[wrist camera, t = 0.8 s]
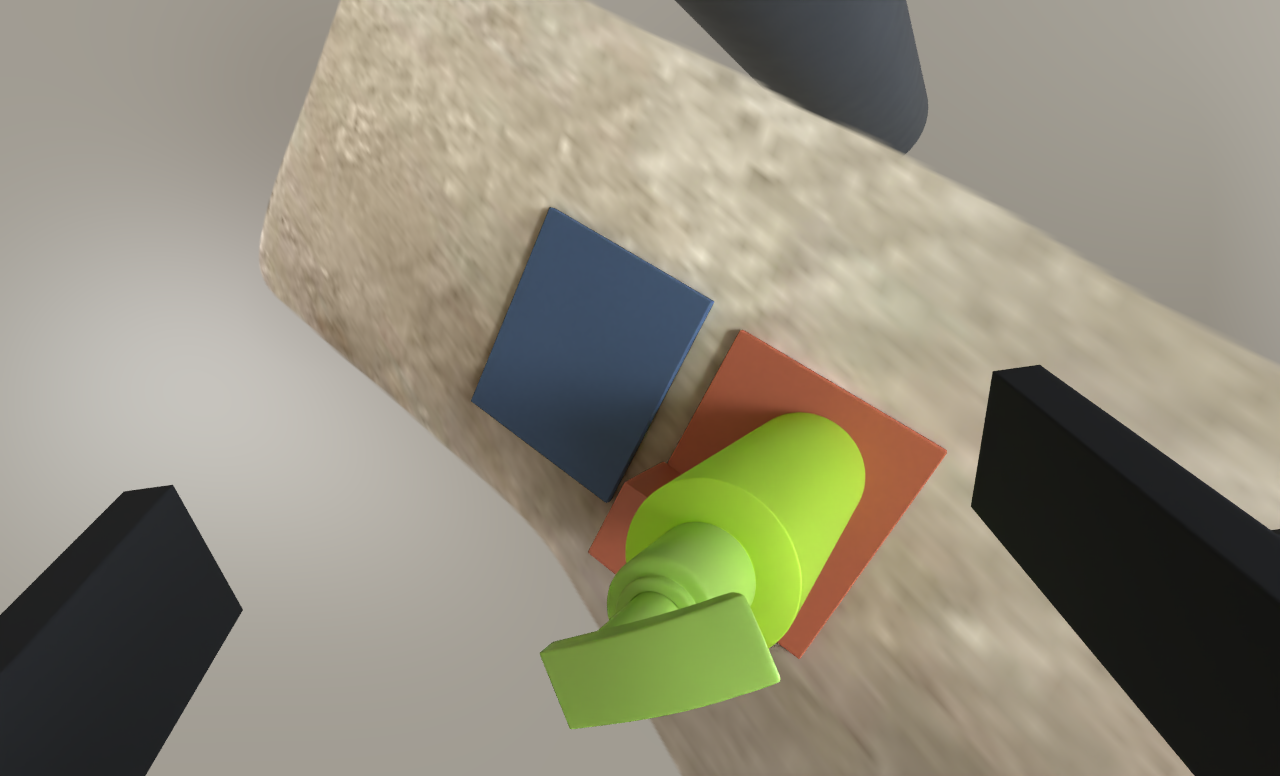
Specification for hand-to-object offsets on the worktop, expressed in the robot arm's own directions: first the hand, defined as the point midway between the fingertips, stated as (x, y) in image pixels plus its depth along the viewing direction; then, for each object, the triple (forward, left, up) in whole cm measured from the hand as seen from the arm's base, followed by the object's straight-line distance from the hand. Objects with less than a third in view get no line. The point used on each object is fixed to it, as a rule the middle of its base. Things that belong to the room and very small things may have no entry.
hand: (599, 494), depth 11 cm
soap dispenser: (+5, +1, -23) cm, 23 cm away
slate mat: (+7, -13, -23) cm, 27 cm away
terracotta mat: (+7, 0, -23) cm, 24 cm away
